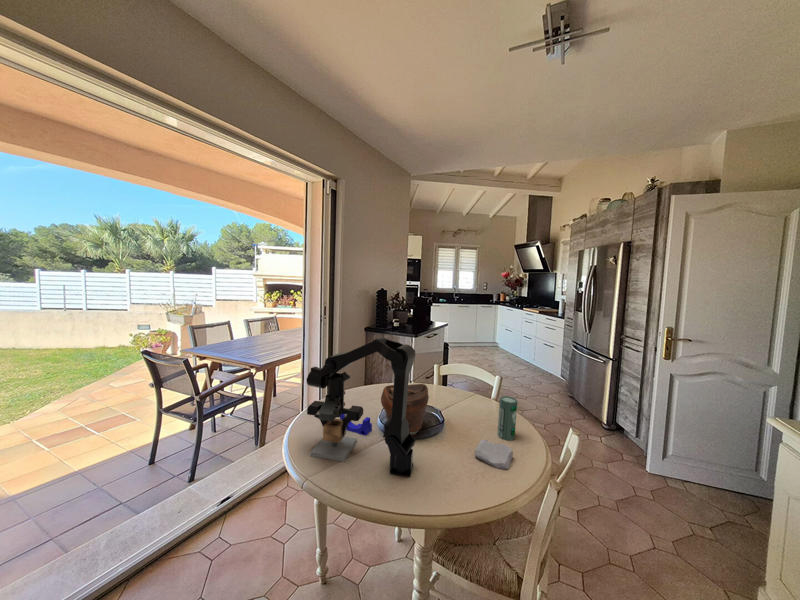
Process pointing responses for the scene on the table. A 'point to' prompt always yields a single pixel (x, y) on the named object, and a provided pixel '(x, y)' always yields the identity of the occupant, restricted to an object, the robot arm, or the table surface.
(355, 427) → the blue curved bracket
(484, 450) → the stone block
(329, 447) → the post stand
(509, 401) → the can
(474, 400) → the table surface
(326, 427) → the wooden hollow block
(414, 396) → the brown pot
